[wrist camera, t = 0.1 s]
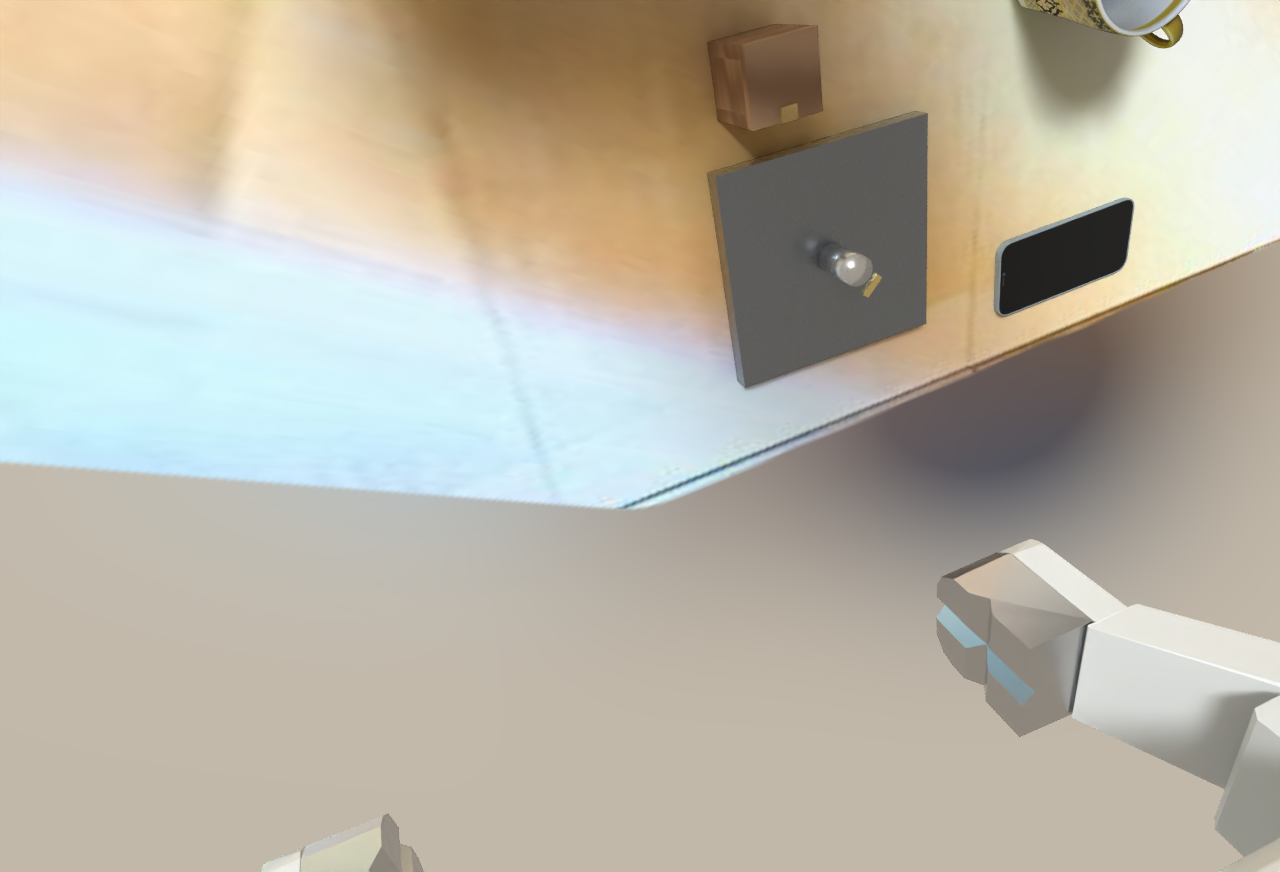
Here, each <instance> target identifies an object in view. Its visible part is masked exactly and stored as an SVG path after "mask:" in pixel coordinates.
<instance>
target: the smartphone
mask: <svg viewBox="0 0 1280 872" xmlns="http://www.w3.org/2000/svg"><path fill="white" fill-rule="evenodd" d="M1133 213H1134V202H1133V200H1132V199H1129V198H1121V199H1118V200H1115V201H1113V202H1110V203H1107V204H1104V205H1102V206H1099V207H1096V208H1094V209H1091V210H1088V211H1085V212H1083V213H1080V214H1077V215H1074V216H1072V217H1069V218H1066V219H1064V220H1061V221H1058V222H1055V223H1053V224H1050V225H1046V226H1044V227H1041V228H1038V229H1036V230H1033V231H1031V232H1028V233H1025V234H1023V235H1020V236H1017V237H1015V238H1012V239H1009V240H1007V241H1005V242H1003V243H1002V244H1001V245H1000V246H999V247H998V249H997V252H996V257H995V283H994V310H995V312H996V313H998V314H1000V315H1002V316H1007V315H1010V314H1012V313H1015V312H1017V311H1020V310H1022V309H1025V308H1028V307H1030V306H1033V305H1035V304H1038V303H1040V302H1043V301H1045V300H1048V299H1050V298H1053V297H1055V296H1058V295H1060V294H1063V293H1065V292H1068V291H1071V290H1073V289H1076V288H1078V287H1081V286H1083V285H1086V284H1088V283H1091V282H1093V281H1096V280H1098V279H1101V278H1103V277H1106V276H1109V275H1111V274H1114V273H1116V272H1118V271H1120V270H1121V269H1122V268H1123V266H1124V265H1125V263H1126V261H1127V256H1128V249H1129V242H1130V234H1131V227H1132V220H1133Z"/></svg>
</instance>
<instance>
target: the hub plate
mask: <svg viewBox="0 0 1280 872" xmlns="http://www.w3.org/2000/svg"><path fill="white" fill-rule="evenodd" d="M927 121H928V113H923V112H918V111H914V112H911V113H907V114H904V115H901V116H897V117H894V118H891V119H887V120H884V121H881V122H877V123H874V124H870V125H867V126H864V127H860V128H857V129H854V130H850V131H847V132H844V133H840V134H837V135H834V136H830V137H827V138H823V139H820V140H817V141H813V142H810V143H807V144H803V145H800V146H797V147H793V148H790V149H786V150H783V151H780V152H776V153H773V154H770V155H766V156H763V157H760V158H756V159H753V160H750V161H746V162H743V163H739V164H736V165H733V166H729V167H726V168H723V169H719V170H716V171H713V172H709V173H707V174H708V181H709V188H710V195H711V202H712V209H713V215H714V222H715V229H716V236H717V243H718V250H719V257H720V263H721V270H722V277H723V284H724V291H725V298H726V305H727V311H728V318H729V325H730V332H731V339H732V346H733V353H734V359H735V366H736V373H737V380H738V382H740V383H741V384H742V385H743V386H744V387H745V388H746V387H749V386H751V385H754V384H757V383H760V382H763V381H765V380H768V379H771V378H774V377H777V376H780V375H782V374H785V373H788V372H791V371H794V370H796V369H799V368H802V367H805V366H808V365H811V364H813V363H816V362H819V361H822V360H825V359H827V358H830V357H833V356H836V355H839V354H842V353H844V352H847V351H850V350H853V349H856V348H858V347H861V346H864V345H867V344H870V343H873V342H875V341H878V340H881V339H884V338H887V337H889V336H892V335H895V334H898V333H901V332H904V331H906V330H909V329H912V328H915V327H918V326H920V325H923V324H926V269H927Z"/></svg>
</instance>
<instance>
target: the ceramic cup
mask: <svg viewBox="0 0 1280 872" xmlns="http://www.w3.org/2000/svg"><path fill="white" fill-rule="evenodd" d="M1189 1H1190V0H1018V2H1019V4H1020V5H1021V6H1022V7H1026V8H1029V9H1032V10H1037V11H1041V12H1044V13H1048V14H1051V15H1055V16H1059V17H1063V18H1067V19H1070V20H1073V21H1075V22H1077V23H1080V24H1082V25H1085V26H1088V27H1092V28H1095V29H1099V30H1102V31H1106V32H1110V33H1115V34H1120V35H1125V36H1140V37H1141V38H1143V39H1144V40H1145V41H1146V42H1148V43H1149V44H1151V45H1153V46H1155V47H1158V48H1169V47H1172V46H1173V45H1175V44H1176V43H1177V42H1178V41H1179V40H1180V38H1181V37H1182V34H1183V24H1182V20H1181V18H1180V16H1179V15H1178V14H1179V13H1180V12H1181V11H1182V10H1183V9H1184V7H1185V6H1186V5H1187V4H1188V3H1189ZM1160 28H1162V30H1163V31H1164V32H1165V33H1166V35H1167V36H1168V38H1169V40H1165V39H1162V38H1159V37H1158V36H1156V35H1154V34H1153V33H1152V32H1154V31H1156V30H1158V29H1160Z"/></svg>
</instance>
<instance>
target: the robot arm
mask: <svg viewBox="0 0 1280 872" xmlns="http://www.w3.org/2000/svg"><path fill="white" fill-rule="evenodd" d="M937 597H938V598H939V599H940V600H941V601H942V602H943V603H944V604H945V605H944V607H943V609H942V610H941V612H940V613H939V615H938V617H937V618H936V619H937V636H938V638H939V640H940V643H941V646H942V649H943V651H944V653H945V654H946V656H947V657H948V659H949V660H950V662H951V663H952V665H953V666H954V667H955V668H956V669H957V670H958V671H959V673H960V674H961V675H962V676H963V677H964V678H966V679H968V680H971V681H974V682H977V683H979V684H982V685H984V688H985V698H986V702H987V703H988V704H989V705H990V706H991V707H992V708H993V709H994V710H995V711H996V713H997V714H998V715H999V716H1000V717H1001V718H1002V719H1003V720H1004V721H1005V722H1006V723H1007V724H1008V725H1009V726H1010V727H1011V728H1012V729H1013V730H1014V732H1016V734H1017V735H1018V736H1019V737H1021V736H1023V735H1025V734H1028V733H1030V732H1032V731H1034V730H1037V729H1039V728H1041V727H1043V726H1046V725H1048V724H1050V723H1052V722H1055V721H1057V720H1059V719H1062V718H1064V717H1066V716H1068V715H1071V714H1072V718H1074V719H1076V720H1078V721H1080V722H1082V723H1085V724H1087V725H1089V726H1091V727H1093V728H1095V729H1097V730H1099V731H1102V732H1104V733H1106V734H1108V735H1110V736H1112V737H1115V738H1117V739H1119V740H1121V741H1123V742H1125V743H1127V744H1129V745H1131V746H1134V747H1136V748H1138V749H1140V750H1142V751H1144V752H1147V753H1149V754H1151V755H1153V756H1155V757H1157V758H1159V759H1161V760H1164V761H1166V762H1168V763H1170V764H1172V765H1174V766H1176V767H1179V768H1181V769H1183V770H1185V771H1187V772H1189V773H1192V774H1193V775H1196V776H1198V777H1200V778H1202V779H1204V780H1207V781H1208V782H1210V783H1213V784H1215V785H1217V786H1219V787H1221V788H1223V789H1225V790H1224V793H1223V796H1222V798H1221V801H1220V804H1219V806H1218V809H1217V812H1216V814H1215V829H1216V831H1217V832H1218V833H1220V834H1221V835H1222V836H1223V837H1224V838H1225V839H1226V840H1227V841H1228V842H1229V843H1230V844H1231V845H1232V846H1233V847H1234V848H1235V849H1236V850H1238V852H1240V853H1241V854H1242V855H1243V856H1244V857H1243V858H1242V859H1240V860H1238V861H1236V862H1234V863H1232V864H1230V865H1229V866H1227V867H1225V868H1223V869H1221V870H1219V871H1218V872H1280V643H1278V642H1274V641H1271V640H1268V639H1264V638H1260V637H1257V636H1253V635H1249V634H1246V633H1242V632H1238V631H1235V630H1231V629H1227V628H1223V627H1220V626H1216V625H1213V624H1209V623H1205V622H1202V621H1198V620H1194V619H1191V618H1187V617H1184V616H1180V615H1176V614H1173V613H1169V612H1165V611H1161V610H1158V609H1154V608H1150V607H1147V606H1143V605H1140V604H1134V605H1132V606H1129V607H1127V606H1125V605H1124V604H1123V603H1121V602H1120V601H1119V600H1117V599H1116V598H1115V597H1113V596H1112V595H1111V594H1109V593H1108V592H1107V591H1105V590H1104V589H1103V588H1101V587H1100V586H1099V585H1097V584H1096V583H1095V582H1093V581H1092V580H1091V579H1089V578H1088V577H1087V576H1085V575H1084V574H1083V573H1081V572H1080V571H1079V570H1077V569H1076V568H1074V567H1073V566H1072V565H1071V564H1069V563H1068V562H1067V561H1065V560H1064V559H1063V558H1061V557H1060V556H1059V555H1057V554H1056V553H1055V552H1053V551H1052V550H1051V549H1050V548H1048V547H1047V546H1046V545H1044V544H1043V543H1041V542H1039V541H1036V540H1033V539H1030V540H1027V541H1024V542H1022V543H1020V544H1017V545H1015V546H1013V547H1010V548H1008V549H1006V550H1003V551H1001V552H999V553H995V554H992V555H990V556H988V557H985V558H983V559H981V560H979V561H976V562H974V563H972V564H969V565H967V566H965V567H963V568H960V569H958V570H956V571H954V572H951V573H949V574H947V575H945V576H942V577H941V579H940V580H939V582H938V584H937ZM261 872H424V871H423V868H422V866H421V864H420V861H419V859H418V857H417V855H416V853H415V852H414V850H413V849H412V847H411V846H407V845H403V844H400V841H399V828H398V826H397V825H396V823H395V822H394V821H393V819H392V818H391V817H390V815H389V814H386V815H384V816H381V817H379V818H376V819H374V820H371V821H368V822H366V823H363V824H361V825H358V826H356V827H353V828H351V829H348V830H346V831H343V832H341V833H338V834H336V835H333V836H330V837H328V838H325V839H323V840H320V841H318V842H315V843H313V844H310V845H308V846H305V847H303V848H300V849H298V850H295V851H293V852H291V853H288V854H286V855H284V856H281V857H279V858H276V859H274V860H271V861H269V862H267V863H264V866H263V868H262V871H261Z"/></svg>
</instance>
